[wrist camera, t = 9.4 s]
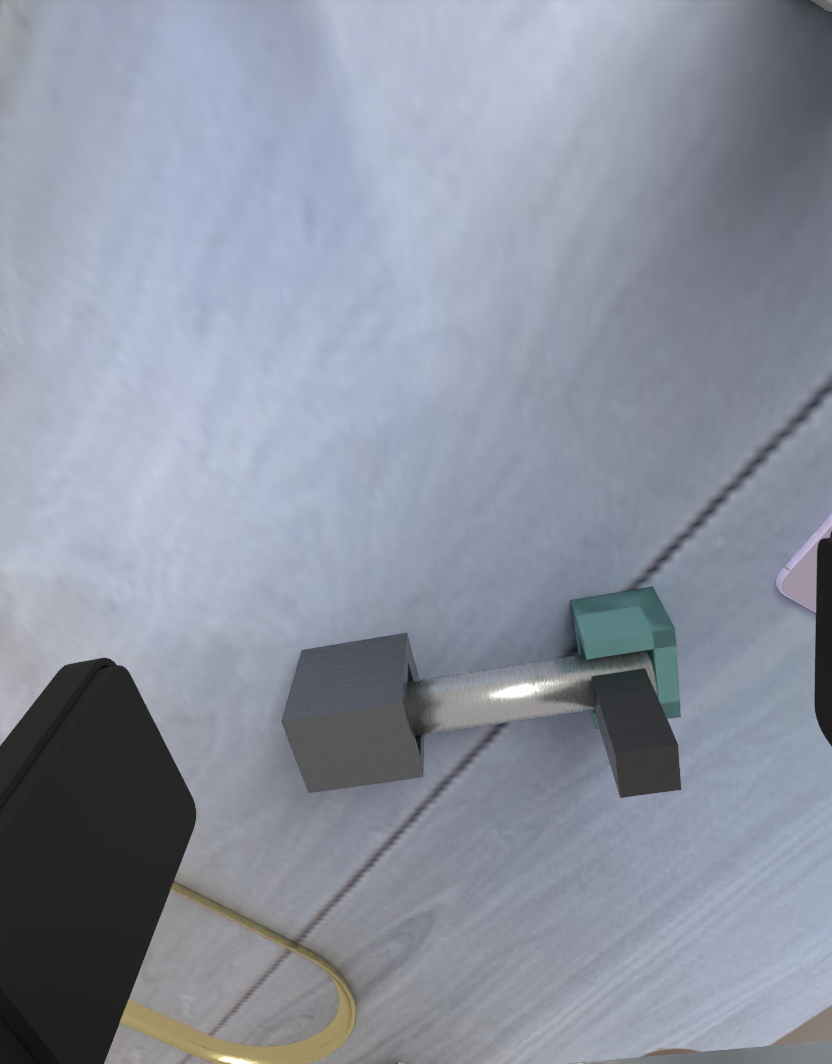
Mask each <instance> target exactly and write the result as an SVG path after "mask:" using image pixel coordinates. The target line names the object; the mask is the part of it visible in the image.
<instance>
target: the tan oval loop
mask: <svg viewBox="0 0 832 1064" xmlns="http://www.w3.org/2000/svg"><path fill="white" fill-rule="evenodd" d="M170 890H172V891H174V892H176V893H178V894H180V895H182V896H184V897H186V898H188V899H190V900H192V901H194V902H196V903H198V904H200V905H202V906H204V907H206V908H208V909H210V910H212V911H214V912H216V913H218V914H220V915H222V916H224V917H226V918H228V919H230V920H232V921H234V922H236V923H238V924H239V925H241V926H243V927H245V928H247V929H249V930H251V931H253V932H255V933H257V934H259V935H261V936H263V937H265V938H267V939H269V940H271V941H273V942H275V943H277V944H279V945H281V946H283V947H285V948H287V949H289V950H291V951H293V952H295V953H297V954H299V955H301V956H303V957H305V958H307V959H309V960H311V961H313V962H314V963H316V964H318V965H319V966H320V967H321V968H323V969H324V970H325V971H326V972H327V974H328V975H329V976H330V977H331V979H332V980H333V982H334V983H335V985H336V988H337V990H338V994H339V1008H338V1012H337V1014H336V1016H335V1018H334V1020H333V1021H332V1022H331V1023H330V1025H329V1026H328V1027H327V1028H325V1029H324V1030H323V1031H321V1032H320V1033H319V1034H317V1035H315V1036H313V1037H311V1038H309V1039H307V1040H304V1041H301V1042H297V1043H294V1044H289V1045H283V1046H273V1047H257V1046H246V1045H239V1044H235V1043H230V1042H226V1041H223V1040H220V1039H217V1038H214V1037H211V1036H209V1035H207V1034H205V1033H202V1032H200V1031H198V1030H196V1029H193V1028H191V1027H189V1026H187V1025H185V1024H182V1023H180V1022H178V1021H176V1020H174V1019H171V1018H169V1017H167V1016H165V1015H163V1014H160V1013H158V1012H156V1011H154V1010H152V1009H149V1008H147V1007H145V1006H143V1005H140V1004H138V1003H136V1002H134V1001H132V1000H129V999H128V1002H127V1005H126V1007H125V1010H124V1012H123V1015H122V1018H121V1020H120V1023H121V1024H123V1025H126V1026H128V1027H130V1028H132V1029H135V1030H137V1031H139V1032H141V1033H144V1034H146V1035H148V1036H151V1037H153V1038H155V1039H157V1040H160V1041H162V1042H164V1043H166V1044H169V1045H171V1046H173V1047H176V1048H178V1049H180V1050H182V1051H185V1052H187V1053H189V1054H192V1055H194V1056H196V1057H199V1058H201V1059H204V1060H207V1061H210V1062H213V1063H216V1064H310V1063H313V1062H316V1061H318V1060H320V1059H323V1058H324V1057H326V1056H328V1055H330V1054H331V1053H333V1052H335V1051H336V1050H337V1049H338V1048H340V1047H341V1046H342V1045H343V1044H344V1043H345V1042H346V1040H347V1039H348V1038H349V1036H350V1034H351V1033H352V1031H353V1028H354V1025H355V1021H356V1004H355V1001H354V997H353V995H352V993H351V991H350V989H349V987H348V985H347V984H346V982H345V980H344V979H343V978H342V977H341V975H340V974H339V973H338V972H337V971H336V970H335V969H334V968H333V967H332V966H331V965H329V964H328V963H327V962H326V961H325V960H323V959H322V958H320V957H319V956H317V955H316V954H314V953H312V952H310V951H309V950H307V949H305V948H303V947H301V946H299V945H297V944H295V943H293V942H291V941H289V940H287V939H285V938H283V937H281V936H279V935H277V934H275V933H273V932H271V931H269V930H267V929H265V928H263V927H261V926H259V925H257V924H255V923H253V922H252V921H250V920H248V919H246V918H244V917H242V916H240V915H238V914H236V913H234V912H232V911H230V910H228V909H226V908H224V907H222V906H220V905H218V904H216V903H214V902H212V901H210V900H208V899H206V898H204V897H202V896H200V895H198V894H196V893H194V892H192V891H190V890H188V889H187V888H185V887H183V886H181V885H179V884H177V883H175V882H173V884H172V887H171V889H170ZM346 994H347V995H346Z"/></svg>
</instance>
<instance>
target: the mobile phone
mask: <svg viewBox="0 0 832 1064" xmlns="http://www.w3.org/2000/svg"><path fill="white" fill-rule="evenodd" d="M831 531H832V515H831V516H829V517H828V518H827V520H826V521H825V522H824V523H823V524H822V525H821V526H820V527H819V528H818V530H817V531H816V532H815V533H814V534H813V535H812V536H811V537H810V538H809V539H808V541H807V542H806V543H805V544H804V545H803V547H802V548H801V549H800V550H799V551H798V552H797V553H796V554H795V555H794V556H793V557H792V558H791V559H790V561H789V562H788V563H787V565H786V566H785V567H784V568H783V569H782V570H781V571H780V573H779V574H778V576H777V578H776V587H777V589H778V590H779V592H780V593H782V594H783V595H784V596H786V597H788V598H790V599H792V600H793V601H795V602H797V603H799V604H801V605H802V606H804V607H806V608H808V609H810V610H812V611H813V612H815V613H816V582H817V547H818V544H819V541H820V540H821V539H823V538H829V537H830V534H831Z"/></svg>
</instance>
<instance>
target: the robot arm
mask: <svg viewBox="0 0 832 1064" xmlns="http://www.w3.org/2000/svg"><path fill="white" fill-rule="evenodd" d="M811 1H812V2H814V3H815V4H817V5H819V6H820V7H822V8H823V9H825V10H826V11H829V12H832V0H811ZM815 713H816V717H817V720H818V723H819V726H820V728H821V730H822V732H823V734H824V736H825V737H826V739H827V740H828V742H829V743H830V745H831V746H832V531H831V534H830V537H829V538H823V539H821V540H820V541H819V544H818V547H817V582H816V644H815ZM195 821H196V808H195V803H194V800H193V798H192V796H191V794H190V792H189V790H188V788H187V786H186V784H185V782H184V780H183V778H182V776H181V774H180V772H179V770H178V768H177V766H176V764H175V762H174V760H173V758H172V756H171V754H170V752H169V750H168V748H167V746H166V744H165V742H164V740H163V738H162V736H161V734H160V732H159V730H158V728H157V726H156V724H155V722H154V720H153V719H152V717H151V715H150V713H149V711H148V709H147V707H146V705H145V703H144V701H143V699H142V697H141V695H140V693H139V691H138V689H137V687H136V685H135V683H134V681H133V679H132V677H131V675H130V673H129V672H128V670H127V669H126V668H125V667H123V666H119V665H118V666H117V665H116V664H115V662H113V661H112V660H111V659H108V658H100V659H95V660H89V661H84V662H78V663H73V664H68V665H65V666H64V667H62V668H61V669H60V670H59V671H58V673H57V674H56V675H55V677H54V678H53V679H52V680H51V682H50V683H49V684H48V686H47V687H46V688H45V689H44V691H43V692H42V693H41V694H40V696H39V697H38V698H37V700H36V701H35V702H34V703H33V705H32V706H31V707H30V709H29V710H28V711H27V712H26V714H25V715H24V716H23V718H22V719H21V720H20V721H19V723H18V724H17V725H16V727H15V728H14V729H13V730H12V732H11V733H10V734H9V736H8V737H7V738H6V739H5V741H4V742H3V743H2V745H1V746H0V1064H104V1062H105V1060H106V1057H107V1054H108V1052H109V1049H110V1046H111V1044H112V1041H113V1039H114V1036H115V1033H116V1031H117V1028H118V1026H119V1023H120V1020H121V1018H122V1015H123V1012H124V1010H125V1007H126V1005H127V1002H128V999H129V997H130V994H131V991H132V989H133V986H134V984H135V981H136V978H137V976H138V973H139V971H140V968H141V965H142V963H143V960H144V957H145V955H146V952H147V950H148V947H149V944H150V942H151V939H152V937H153V934H154V931H155V929H156V926H157V923H158V921H159V918H160V916H161V913H162V910H163V908H164V905H165V902H166V900H167V897H168V895H169V892H170V889H171V887H172V884H173V882H174V879H175V876H176V874H177V871H178V868H179V866H180V863H181V861H182V858H183V855H184V853H185V850H186V848H187V845H188V842H189V840H190V837H191V834H192V832H193V829H194V826H195ZM570 1064H832V1041H823V1042H811V1043H800V1044H788V1045H778V1046H765V1047H753V1048H742V1049H730V1050H719V1051H707V1052H696V1053H684V1054H673V1055H662V1056H650V1057H638V1058H627V1059H616V1060H604V1061H593V1062H581V1063H570Z"/></svg>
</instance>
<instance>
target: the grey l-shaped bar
mask: <svg viewBox="0 0 832 1064" xmlns="http://www.w3.org/2000/svg"><path fill="white" fill-rule="evenodd" d="M406 707H407V710H408V714H409V717H410V721H411V724H412V728H413V732H414V735H415V736H418V735H425V734H431V733H438V732H445V731H452V730H459V729H465V728H472V727H479V726H486V725H492V724H499V723H506V722H513V721H519V720H526V719H533V718H540V717H547V716H553V715H560V714H567V713H574V712H580V711H587V710H594V709H595V711H596V718H597V721H598V725H599V728H600V731H601V735H602V738H603V741H604V745H605V748H606V751H607V755H608V758H609V761H610V765H611V768H612V772H613V775H614V778H615V782H616V785H617V788H618V792H619V795H620V798H622V797H630V796H637V795H645V794H652V793H660V792H667V791H675V790H681V782H680V768H679V754H678V744H677V741H676V739H675V737H674V734H673V732H672V730H671V727H670V725H669V723H668V720H667V718H666V716H665V713H664V711H663V709H662V706H661V704H660V702H659V699H658V697H657V686H656V680H655V674H654V670H653V666H652V662H651V659H650V656H649V653H648V651H647V650H645V651H638V652H632V653H626V654H619V655H613V656H606V657H600V658H594V659H587V660H586V657H585V654H584V655H577V656H571V657H564V658H558V659H552V660H545V661H539V662H533V663H526V664H520V665H513V666H507V667H501V668H494V669H488V670H482V671H475V672H469V673H462V674H456V675H450V676H443V677H437V678H431V679H424V680H418V681H412V682H407V694H406Z"/></svg>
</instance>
